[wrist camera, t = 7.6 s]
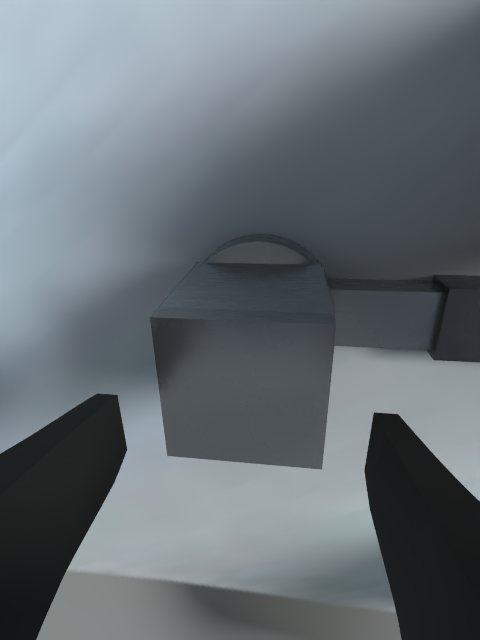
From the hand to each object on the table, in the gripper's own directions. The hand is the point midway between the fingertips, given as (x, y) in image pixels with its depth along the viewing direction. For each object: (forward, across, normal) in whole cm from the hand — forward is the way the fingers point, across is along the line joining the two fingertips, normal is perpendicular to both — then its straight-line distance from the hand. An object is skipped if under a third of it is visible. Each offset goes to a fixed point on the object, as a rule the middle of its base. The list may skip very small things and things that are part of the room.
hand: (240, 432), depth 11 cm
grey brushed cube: (+8, 0, 0) cm, 8 cm away
